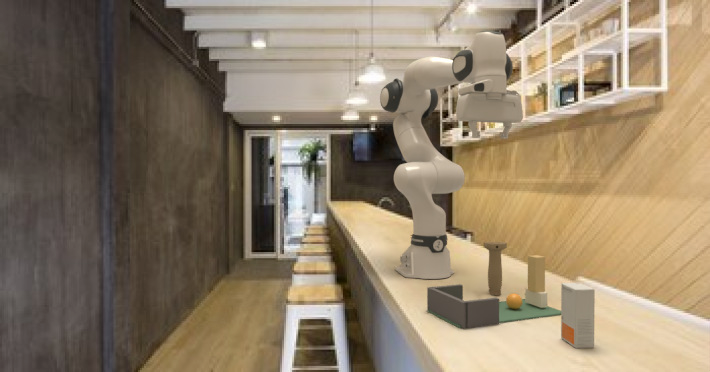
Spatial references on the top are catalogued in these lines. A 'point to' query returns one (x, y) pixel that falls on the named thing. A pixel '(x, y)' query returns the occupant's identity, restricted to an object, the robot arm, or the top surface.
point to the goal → (462, 307)
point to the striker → (536, 282)
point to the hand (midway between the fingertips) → (490, 138)
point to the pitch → (516, 312)
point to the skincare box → (577, 315)
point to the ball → (514, 301)
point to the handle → (495, 266)
